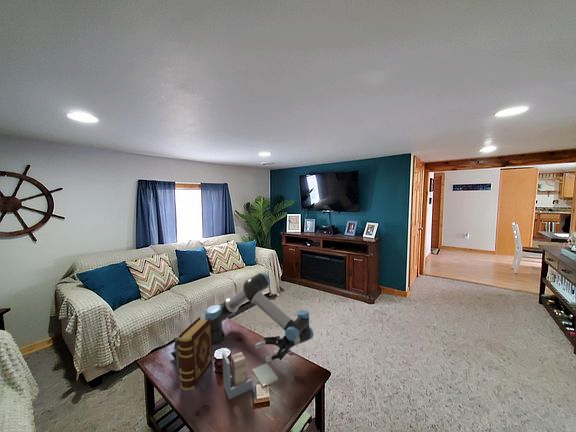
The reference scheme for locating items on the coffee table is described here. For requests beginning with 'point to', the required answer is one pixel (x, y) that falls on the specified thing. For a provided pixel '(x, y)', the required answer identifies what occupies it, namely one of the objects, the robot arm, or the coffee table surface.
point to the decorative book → (195, 352)
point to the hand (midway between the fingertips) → (260, 353)
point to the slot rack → (228, 381)
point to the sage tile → (265, 374)
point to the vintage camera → (176, 352)
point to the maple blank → (238, 369)
